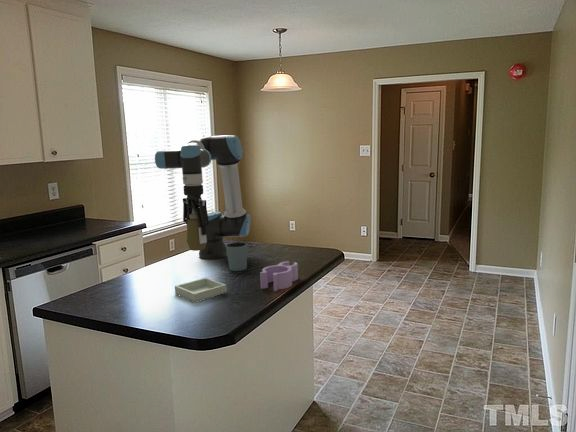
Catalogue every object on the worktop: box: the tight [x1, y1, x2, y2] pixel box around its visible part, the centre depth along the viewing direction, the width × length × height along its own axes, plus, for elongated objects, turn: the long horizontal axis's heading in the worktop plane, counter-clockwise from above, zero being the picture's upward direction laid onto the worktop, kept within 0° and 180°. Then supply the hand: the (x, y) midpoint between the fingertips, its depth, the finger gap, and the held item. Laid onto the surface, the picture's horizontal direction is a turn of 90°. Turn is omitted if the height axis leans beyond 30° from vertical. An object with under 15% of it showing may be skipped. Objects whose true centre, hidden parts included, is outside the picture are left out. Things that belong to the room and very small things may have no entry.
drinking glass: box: [225, 241, 248, 272], centre depth 222 cm, size 10×10×12 cm
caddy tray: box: [174, 277, 228, 303], centre depth 188 cm, size 15×15×4 cm
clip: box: [259, 260, 299, 292], centre depth 198 cm, size 20×12×7 cm, turn 149°
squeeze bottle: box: [186, 209, 207, 252], centre depth 184 cm, size 8×8×18 cm
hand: (197, 241), depth 185 cm, fingers closed on squeeze bottle, 8 cm apart
